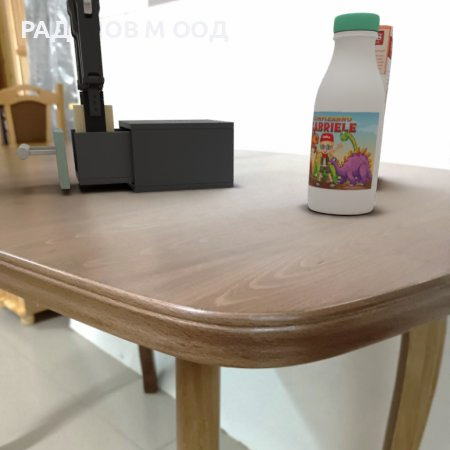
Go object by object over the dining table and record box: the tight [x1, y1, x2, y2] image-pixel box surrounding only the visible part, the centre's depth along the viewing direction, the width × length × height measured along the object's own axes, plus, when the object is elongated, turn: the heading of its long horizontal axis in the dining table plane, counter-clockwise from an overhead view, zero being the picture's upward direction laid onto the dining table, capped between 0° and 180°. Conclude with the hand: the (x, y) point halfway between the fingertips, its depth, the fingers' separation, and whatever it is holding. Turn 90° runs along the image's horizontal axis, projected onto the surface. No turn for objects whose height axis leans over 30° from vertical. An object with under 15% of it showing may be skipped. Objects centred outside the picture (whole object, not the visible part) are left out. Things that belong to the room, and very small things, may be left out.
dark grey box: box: [118, 118, 235, 194], centre depth 74 cm, size 15×13×9 cm
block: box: [72, 104, 115, 132], centre depth 69 cm, size 5×5×5 cm
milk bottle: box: [307, 12, 386, 216], centre depth 54 cm, size 8×8×20 cm
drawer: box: [16, 127, 134, 190], centre depth 70 cm, size 18×11×7 cm, turn 109°
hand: (95, 140), depth 70 cm, fingers closed on block, 5 cm apart
